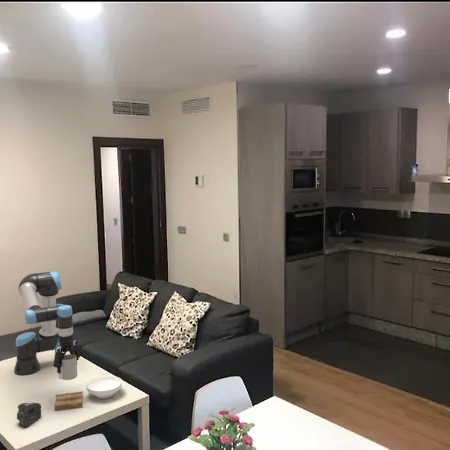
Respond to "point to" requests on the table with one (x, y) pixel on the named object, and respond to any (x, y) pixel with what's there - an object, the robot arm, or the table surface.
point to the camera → (28, 413)
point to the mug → (69, 367)
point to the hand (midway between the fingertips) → (67, 375)
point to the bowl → (104, 386)
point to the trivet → (68, 401)
